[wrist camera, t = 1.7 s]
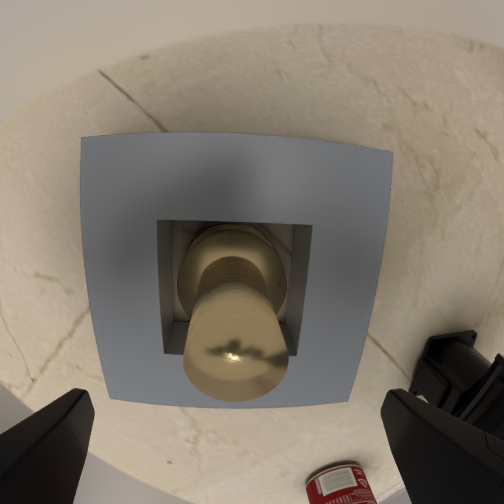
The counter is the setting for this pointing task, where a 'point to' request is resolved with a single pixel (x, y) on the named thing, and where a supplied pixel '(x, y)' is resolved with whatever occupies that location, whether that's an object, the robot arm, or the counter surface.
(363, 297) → the housing
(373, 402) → the counter surface
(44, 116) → the counter surface
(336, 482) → the soda can
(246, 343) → the stepped shaft
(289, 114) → the counter surface
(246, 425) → the counter surface
